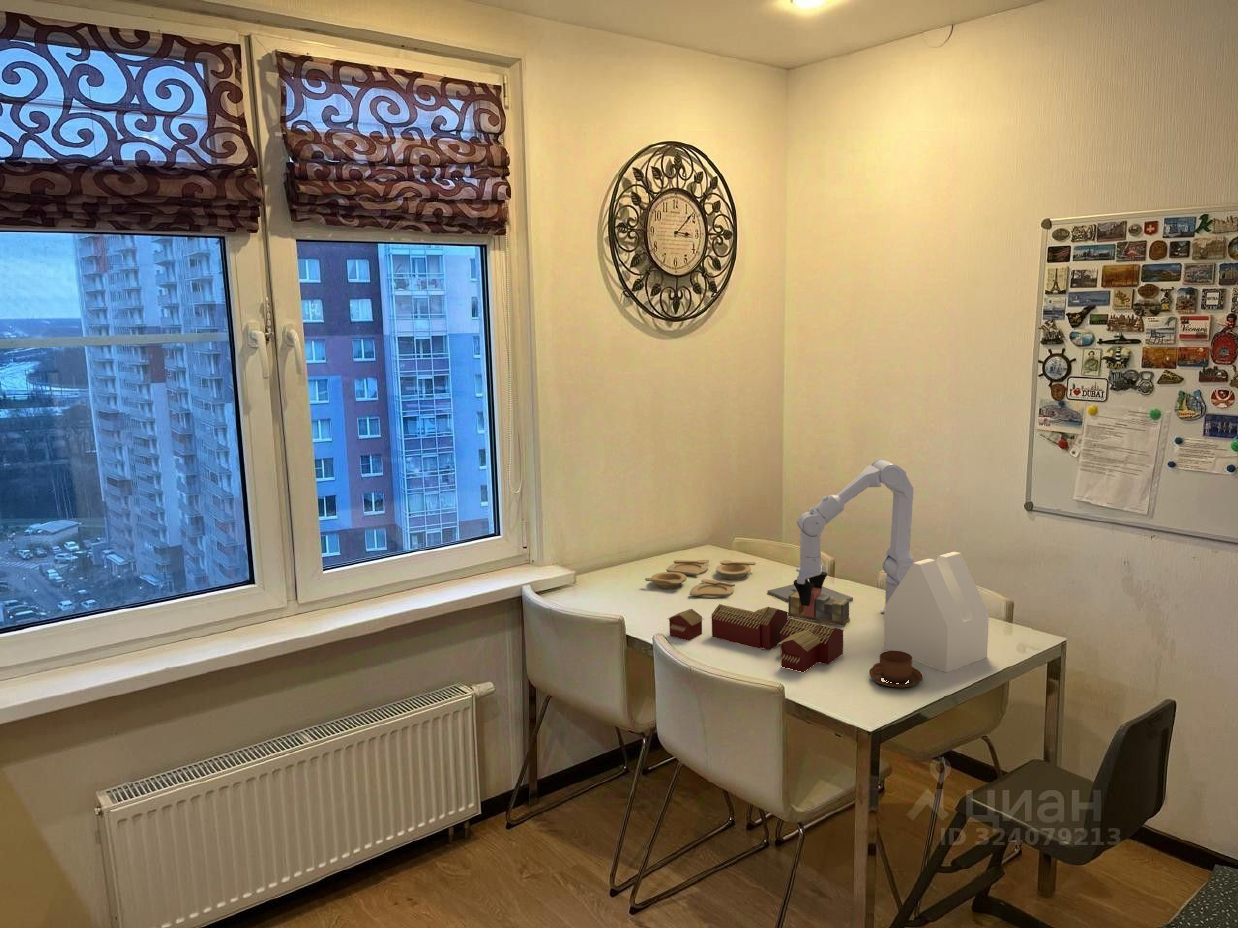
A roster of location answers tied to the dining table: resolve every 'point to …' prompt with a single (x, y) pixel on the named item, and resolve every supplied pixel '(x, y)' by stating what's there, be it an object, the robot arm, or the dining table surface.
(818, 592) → the red rectangular block
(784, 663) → the toy houses
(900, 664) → the cup and saucer
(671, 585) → the tableware set
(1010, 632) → the dining table surface
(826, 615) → the rack
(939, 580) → the milk carton
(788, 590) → the play button award
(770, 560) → the dining table surface
